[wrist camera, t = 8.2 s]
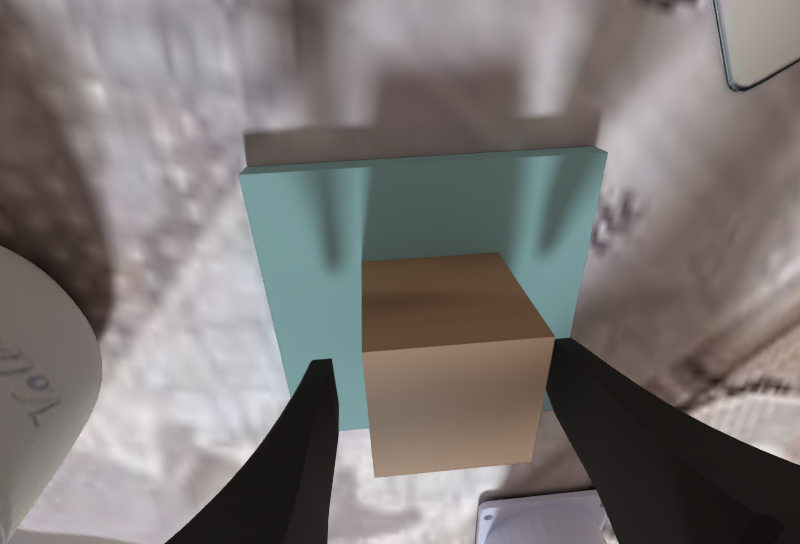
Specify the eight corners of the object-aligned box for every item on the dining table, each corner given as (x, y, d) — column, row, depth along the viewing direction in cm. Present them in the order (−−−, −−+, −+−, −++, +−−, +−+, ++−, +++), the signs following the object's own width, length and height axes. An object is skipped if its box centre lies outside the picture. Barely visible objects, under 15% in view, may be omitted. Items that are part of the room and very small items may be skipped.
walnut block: (488, 357, 17) (531, 462, 13) (370, 367, 17) (374, 477, 13) (498, 252, 15) (555, 336, 10) (361, 261, 15) (361, 352, 10)
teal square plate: (546, 394, 20) (555, 409, 19) (302, 417, 19) (299, 434, 19) (592, 146, 14) (607, 152, 13) (246, 166, 14) (238, 174, 13)
